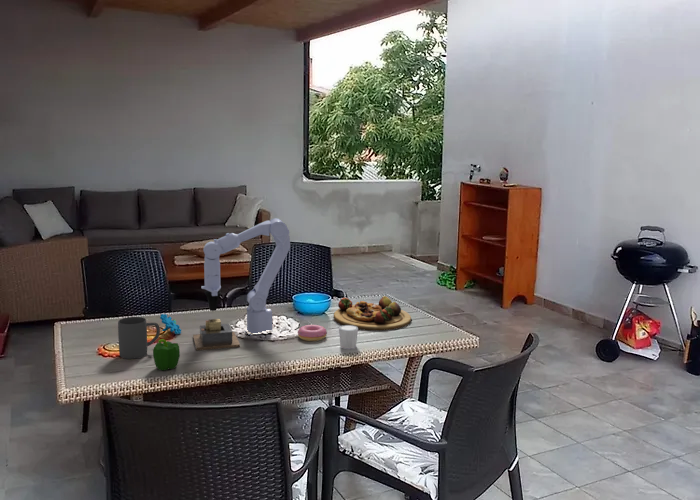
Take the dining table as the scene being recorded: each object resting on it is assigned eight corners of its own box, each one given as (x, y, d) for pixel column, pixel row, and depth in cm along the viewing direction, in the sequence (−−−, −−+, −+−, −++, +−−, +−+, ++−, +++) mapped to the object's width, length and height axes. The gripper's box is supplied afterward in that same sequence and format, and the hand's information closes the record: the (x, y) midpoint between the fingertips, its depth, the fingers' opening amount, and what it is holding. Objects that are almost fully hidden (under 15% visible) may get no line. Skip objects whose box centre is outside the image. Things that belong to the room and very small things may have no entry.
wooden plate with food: (317, 319, 265) (317, 300, 264) (366, 304, 289) (367, 286, 287) (378, 338, 245) (378, 317, 243) (426, 320, 269) (427, 301, 267)
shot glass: (344, 350, 228) (344, 331, 227) (335, 344, 234) (335, 326, 233) (361, 347, 231) (361, 329, 230) (352, 342, 237) (352, 323, 236)
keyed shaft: (219, 337, 236) (219, 318, 235) (221, 340, 232) (220, 321, 231) (205, 338, 235) (205, 319, 233) (206, 341, 231) (206, 322, 230)
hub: (234, 334, 243) (234, 321, 242) (239, 347, 229) (239, 333, 228) (193, 337, 239) (192, 324, 238) (196, 350, 225) (196, 336, 224)
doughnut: (307, 331, 249) (307, 321, 248) (332, 336, 244) (332, 325, 243) (291, 339, 239) (291, 328, 239) (317, 344, 234) (317, 333, 234)
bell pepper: (175, 361, 214) (174, 332, 212) (183, 369, 207) (182, 339, 205) (149, 366, 209) (148, 336, 207) (157, 374, 202) (156, 343, 200)
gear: (178, 334, 237) (159, 314, 237) (166, 345, 237) (147, 325, 237) (186, 329, 248) (168, 310, 248) (175, 339, 248) (157, 320, 248)
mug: (122, 361, 213) (121, 325, 211) (116, 352, 221) (115, 318, 219) (164, 354, 220) (163, 320, 218) (157, 346, 228) (155, 313, 226)
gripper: (199, 270, 244) (200, 305, 246) (203, 279, 230) (203, 316, 233) (218, 270, 246) (219, 304, 248) (223, 278, 232) (223, 315, 235)
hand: (213, 310), depth 241 cm, fingers closed
